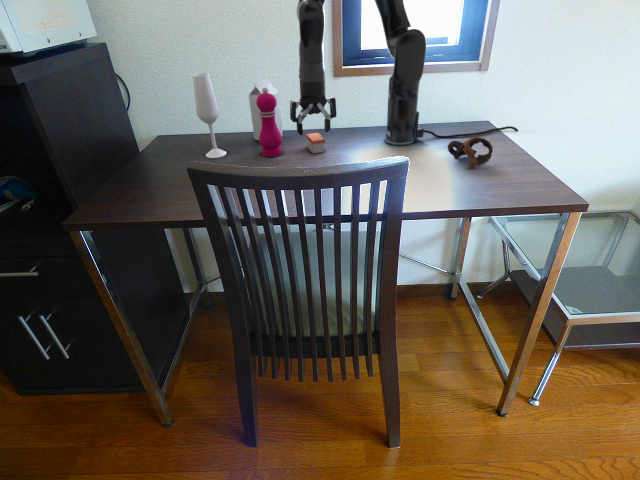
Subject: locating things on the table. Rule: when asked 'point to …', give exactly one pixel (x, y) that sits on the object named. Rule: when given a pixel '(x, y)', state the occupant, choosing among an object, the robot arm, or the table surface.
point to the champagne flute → (207, 108)
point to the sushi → (315, 142)
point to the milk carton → (255, 110)
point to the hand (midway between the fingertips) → (314, 133)
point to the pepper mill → (269, 125)
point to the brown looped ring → (470, 150)
